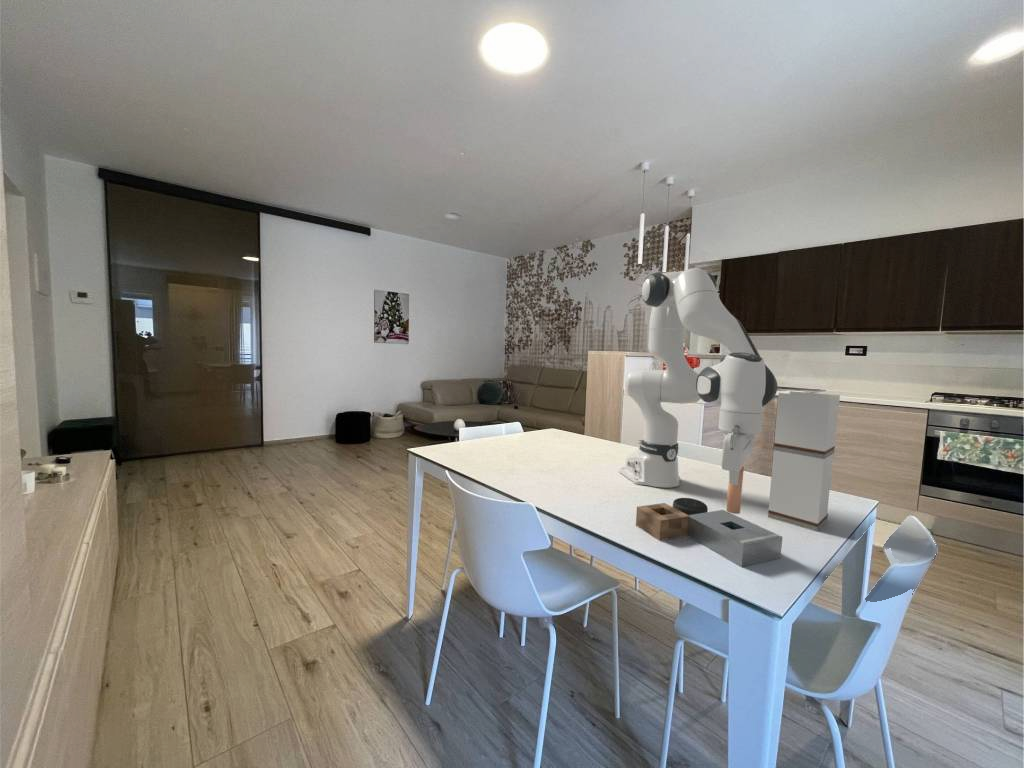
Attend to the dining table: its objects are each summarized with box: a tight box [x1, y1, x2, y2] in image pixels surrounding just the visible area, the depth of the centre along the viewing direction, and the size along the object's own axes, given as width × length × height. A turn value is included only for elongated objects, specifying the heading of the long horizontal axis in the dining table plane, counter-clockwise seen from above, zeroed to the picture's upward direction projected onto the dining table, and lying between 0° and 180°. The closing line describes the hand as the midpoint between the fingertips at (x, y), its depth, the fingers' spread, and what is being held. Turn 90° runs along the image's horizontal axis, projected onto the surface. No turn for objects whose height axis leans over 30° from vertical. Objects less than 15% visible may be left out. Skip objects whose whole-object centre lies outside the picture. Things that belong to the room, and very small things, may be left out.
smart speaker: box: [672, 497, 709, 515], centre depth 115 cm, size 9×9×4 cm
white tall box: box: [767, 390, 841, 532], centre depth 114 cm, size 11×11×35 cm
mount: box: [635, 502, 688, 541], centre depth 106 cm, size 9×9×5 cm
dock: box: [686, 509, 783, 568], centre depth 98 cm, size 16×12×5 cm
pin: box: [726, 465, 745, 515], centre depth 97 cm, size 3×3×11 cm
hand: (735, 481), depth 97 cm, fingers closed on pin, 3 cm apart
